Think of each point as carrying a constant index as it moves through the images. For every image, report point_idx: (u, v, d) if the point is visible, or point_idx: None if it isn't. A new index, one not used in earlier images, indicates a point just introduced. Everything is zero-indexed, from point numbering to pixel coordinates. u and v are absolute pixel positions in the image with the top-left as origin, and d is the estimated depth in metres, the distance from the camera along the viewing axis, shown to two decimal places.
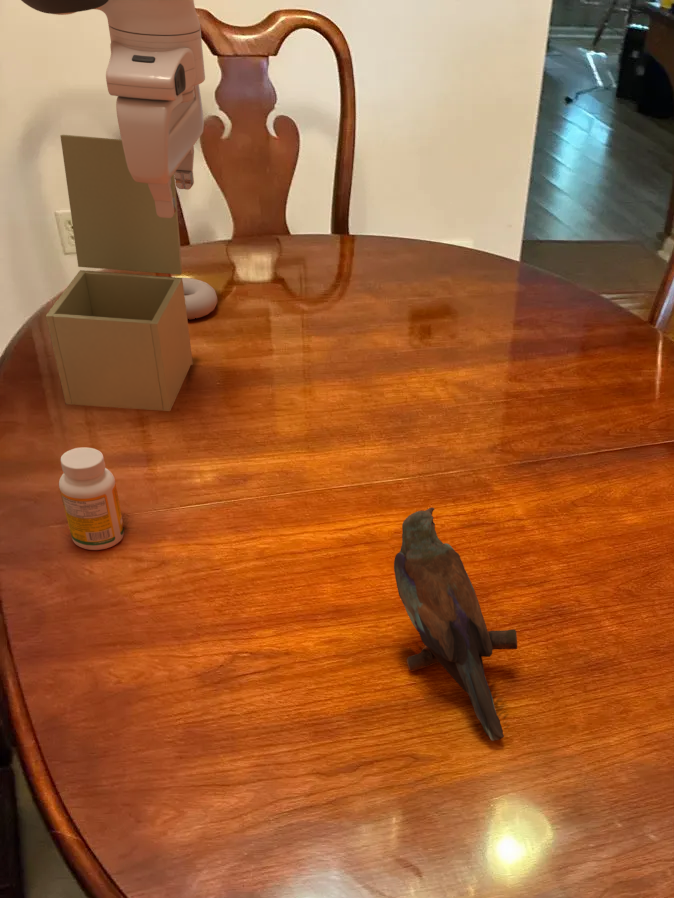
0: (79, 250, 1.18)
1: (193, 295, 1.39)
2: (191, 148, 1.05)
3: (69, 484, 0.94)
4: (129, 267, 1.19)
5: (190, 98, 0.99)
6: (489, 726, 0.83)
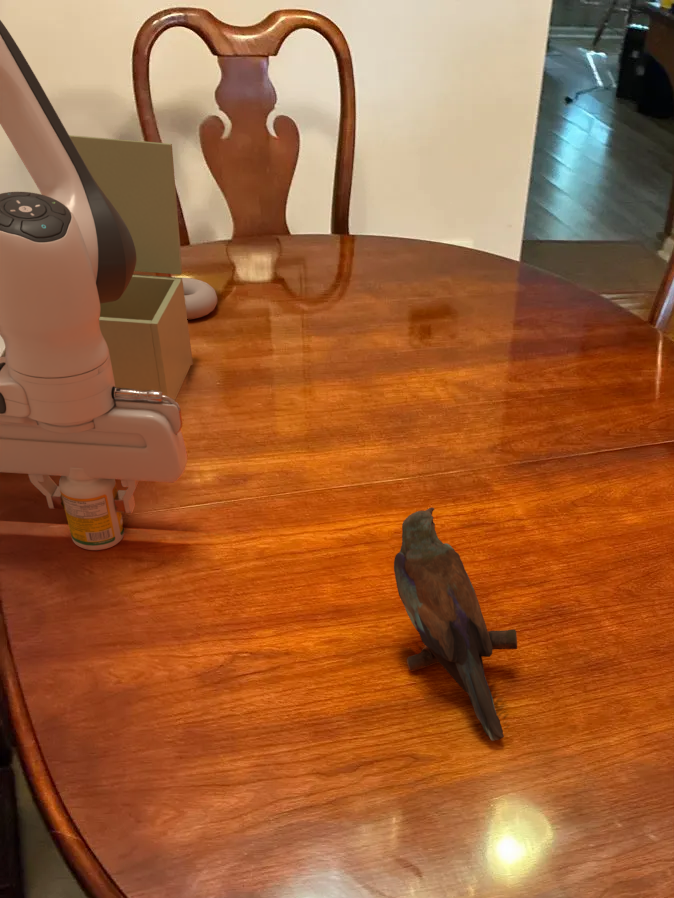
0: None
1: (193, 295, 1.39)
2: (105, 478, 0.94)
3: (69, 484, 0.94)
4: None
5: (51, 430, 0.89)
6: (489, 726, 0.83)
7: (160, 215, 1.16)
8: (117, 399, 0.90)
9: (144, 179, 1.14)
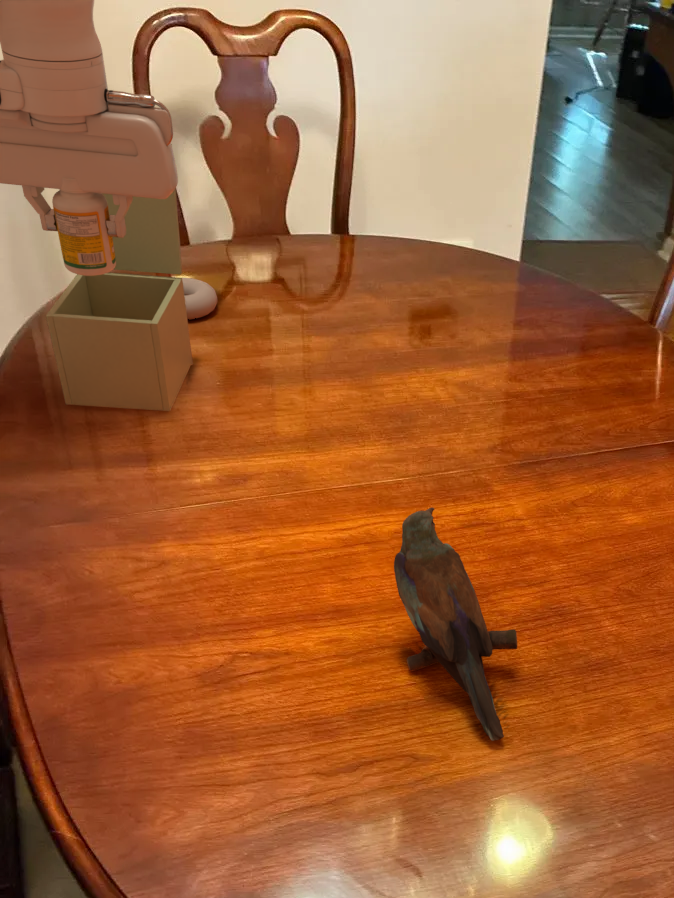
0: None
1: (193, 295, 1.39)
2: (97, 191, 0.97)
3: (62, 198, 0.97)
4: (129, 267, 1.19)
5: (45, 128, 0.91)
6: (489, 726, 0.83)
7: (160, 215, 1.16)
8: (110, 103, 0.93)
9: None
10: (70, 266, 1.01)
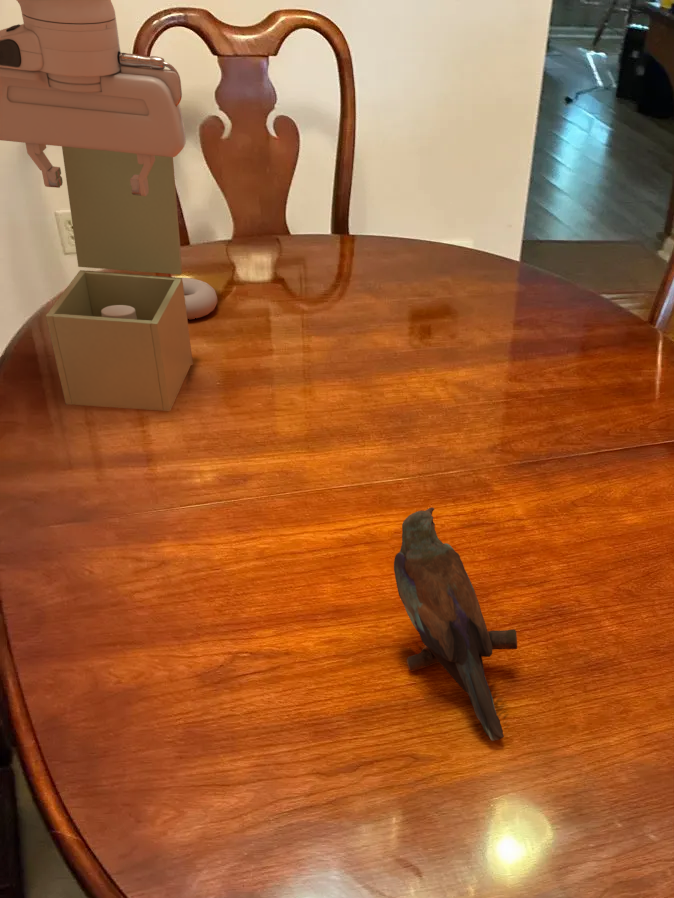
0: (79, 250, 1.18)
1: (193, 295, 1.39)
2: (110, 149, 1.03)
3: None
4: (129, 267, 1.19)
5: (62, 88, 0.97)
6: (489, 726, 0.83)
7: (160, 215, 1.16)
8: (122, 65, 0.99)
9: None
10: None
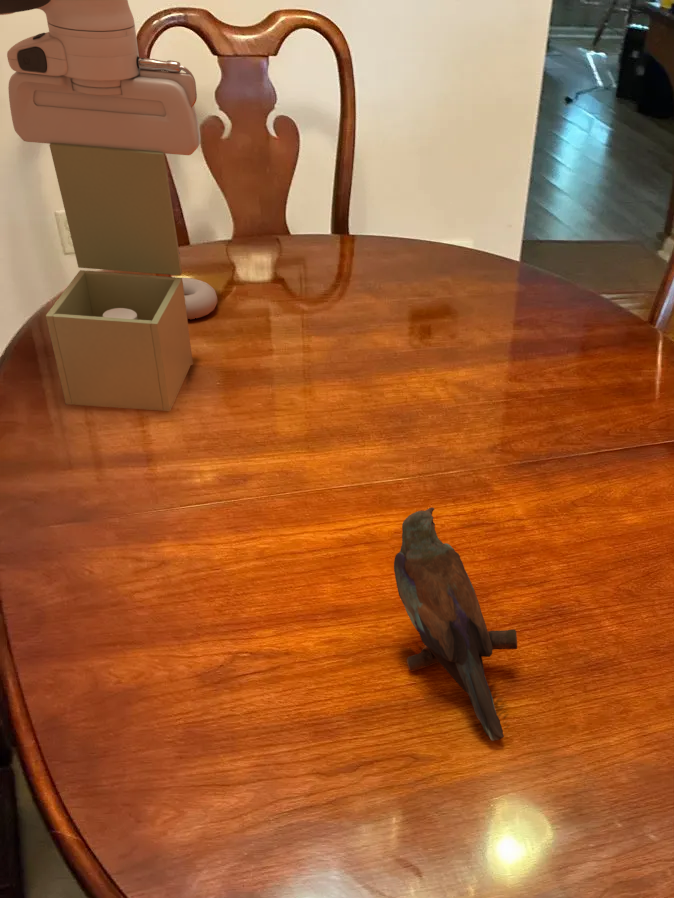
0: (78, 252, 1.18)
1: (193, 295, 1.39)
2: (129, 149, 1.09)
3: None
4: (129, 268, 1.19)
5: (85, 91, 1.04)
6: (489, 726, 0.83)
7: (157, 221, 1.15)
8: (141, 69, 1.05)
9: (138, 187, 1.12)
10: None
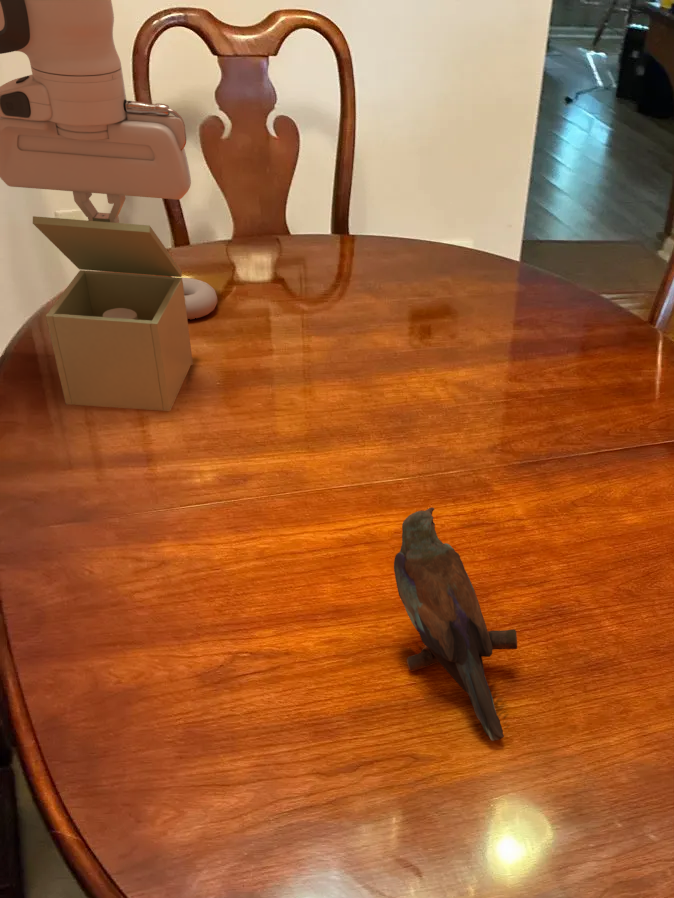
0: (77, 264, 1.17)
1: (193, 295, 1.39)
2: (117, 193, 1.05)
3: None
4: (129, 272, 1.19)
5: (70, 136, 1.00)
6: (489, 726, 0.83)
7: (152, 256, 1.13)
8: (128, 113, 1.02)
9: (129, 243, 1.09)
10: None
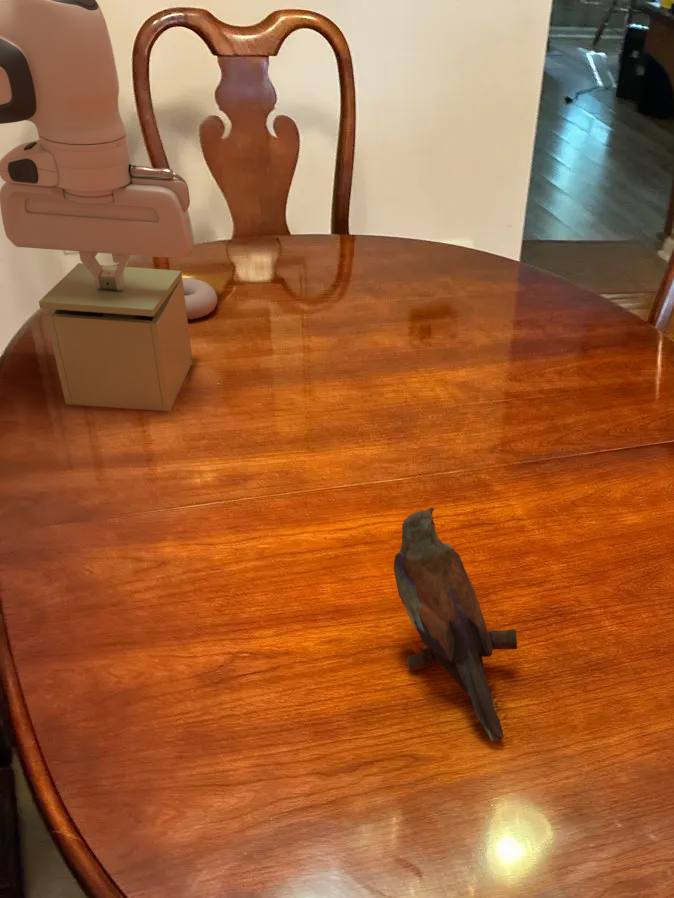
0: None
1: (193, 295, 1.39)
2: (122, 253, 1.08)
3: None
4: None
5: (76, 200, 1.03)
6: (489, 726, 0.83)
7: None
8: (133, 177, 1.04)
9: None
10: None
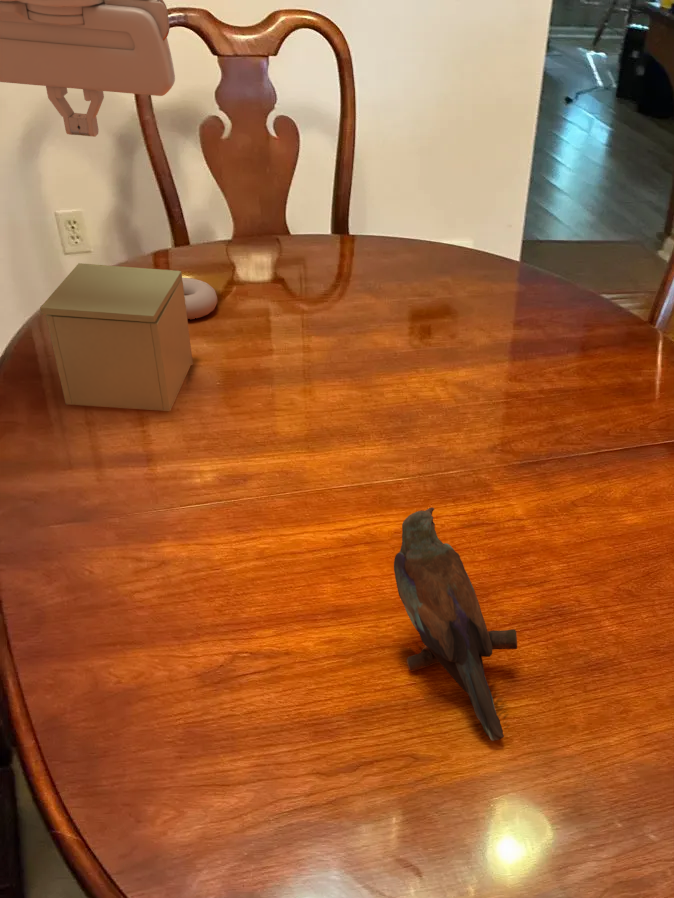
0: None
1: (193, 295, 1.39)
2: (94, 88, 0.97)
3: None
4: None
5: (42, 20, 0.92)
6: (489, 726, 0.83)
7: None
8: None
9: None
10: None
